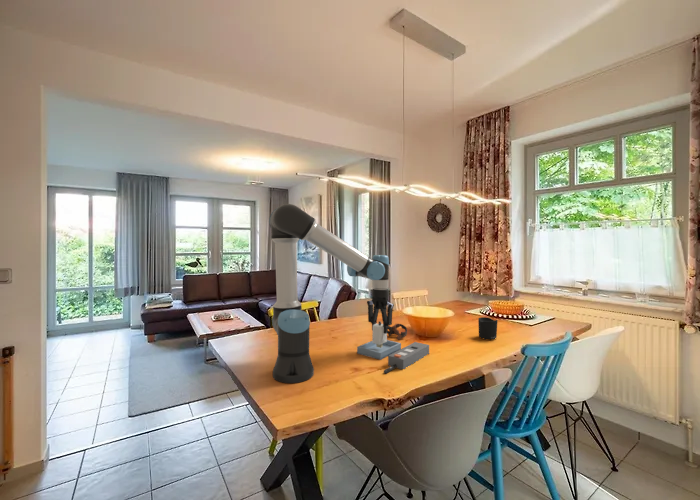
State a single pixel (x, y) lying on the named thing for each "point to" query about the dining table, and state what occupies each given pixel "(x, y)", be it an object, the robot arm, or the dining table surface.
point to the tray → (378, 349)
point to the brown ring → (394, 331)
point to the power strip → (407, 356)
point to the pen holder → (487, 328)
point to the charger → (378, 335)
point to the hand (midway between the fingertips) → (379, 338)
